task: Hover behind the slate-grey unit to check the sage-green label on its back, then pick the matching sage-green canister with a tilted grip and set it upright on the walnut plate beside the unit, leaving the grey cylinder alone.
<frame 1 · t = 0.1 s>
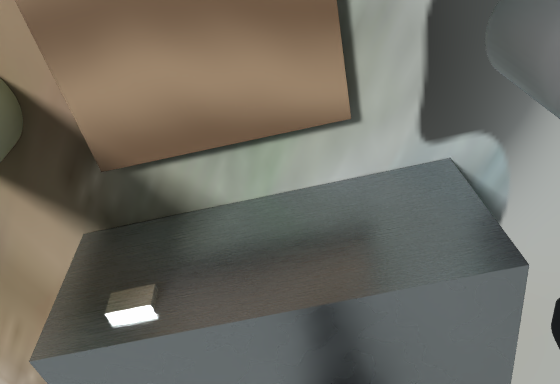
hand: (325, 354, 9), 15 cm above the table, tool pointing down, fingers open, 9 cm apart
grey cylinder: (541, 25, 21), on the table
walnut plate: (186, 9, 19), on the table
slate unit: (277, 251, 27), on the table
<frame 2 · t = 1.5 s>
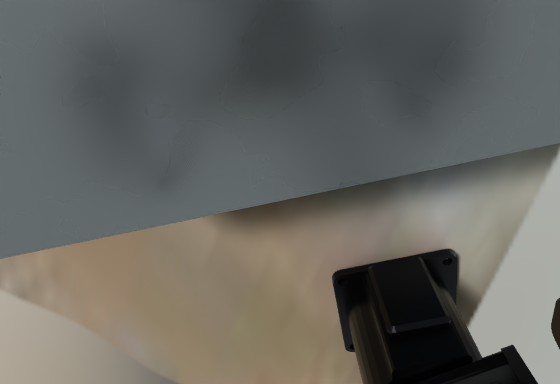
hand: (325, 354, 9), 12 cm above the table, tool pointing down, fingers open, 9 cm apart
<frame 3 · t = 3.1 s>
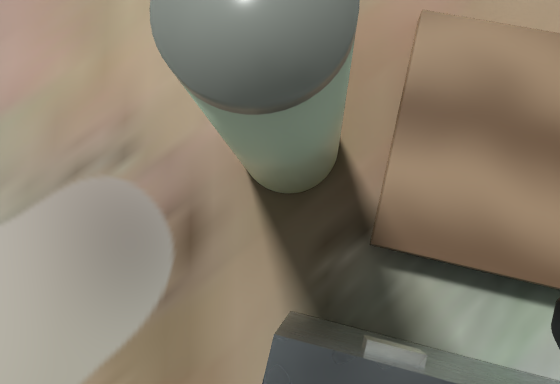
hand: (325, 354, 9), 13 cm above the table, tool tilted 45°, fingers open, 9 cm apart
walnut plate: (517, 153, 23), on the table
sage canister: (289, 145, 24), on the table
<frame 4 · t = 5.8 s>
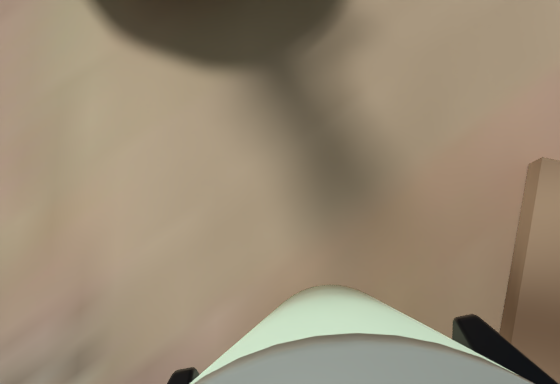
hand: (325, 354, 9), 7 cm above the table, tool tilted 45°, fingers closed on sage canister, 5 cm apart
sage canister: (332, 361, 15), on the table, touching gripper
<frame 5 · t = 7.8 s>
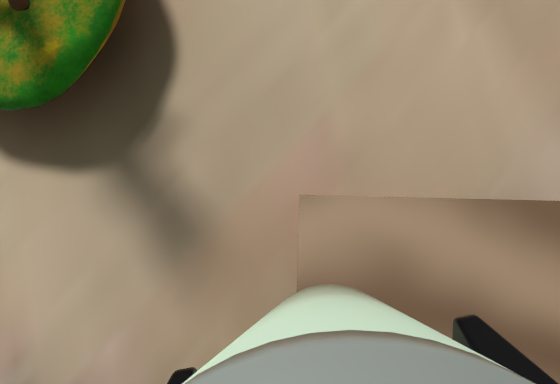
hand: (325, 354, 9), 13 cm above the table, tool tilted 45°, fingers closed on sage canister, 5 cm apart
walnut plate: (425, 328, 22), on the table
pirate figurine: (41, 18, 26), on the table
sage canister: (331, 361, 15), point 7 cm above the table, touching gripper
when the fingers open (9 cm above the table, at t = 9.6 s): sage canister drops 1 cm, resting on walnut plate.
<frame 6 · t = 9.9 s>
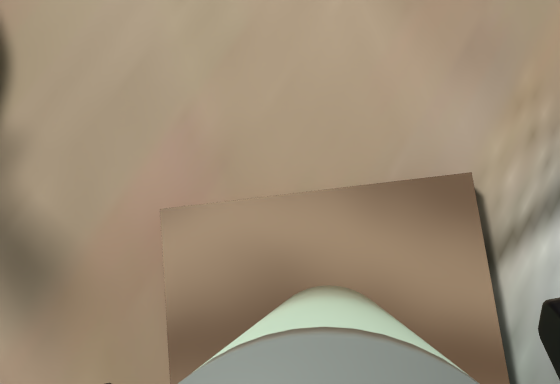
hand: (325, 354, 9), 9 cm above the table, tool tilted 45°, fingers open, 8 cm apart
walnut plate: (330, 349, 18), on the table
sage canister: (330, 356, 17), point 1 cm above the table, touching walnut plate
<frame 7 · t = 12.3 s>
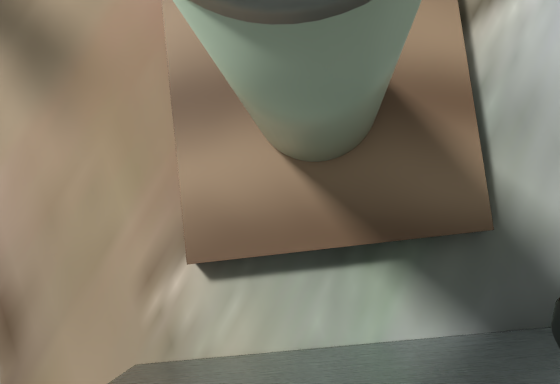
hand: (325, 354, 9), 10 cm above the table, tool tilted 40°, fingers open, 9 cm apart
walnut plate: (317, 105, 20), on the table
sage canister: (315, 100, 19), point 1 cm above the table, touching walnut plate
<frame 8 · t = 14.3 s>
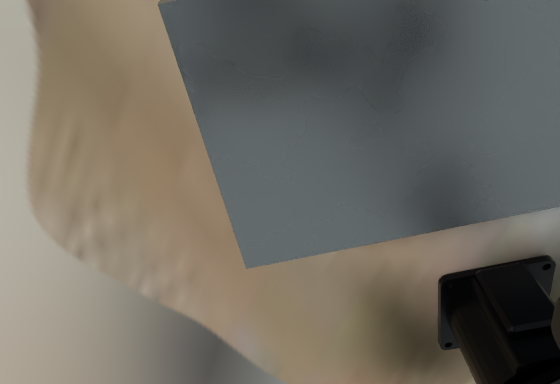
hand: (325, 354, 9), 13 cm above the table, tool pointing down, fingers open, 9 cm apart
slate unit: (467, 5, 18), on the table
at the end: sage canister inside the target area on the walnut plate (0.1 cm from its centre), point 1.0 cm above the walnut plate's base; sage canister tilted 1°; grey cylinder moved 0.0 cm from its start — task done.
